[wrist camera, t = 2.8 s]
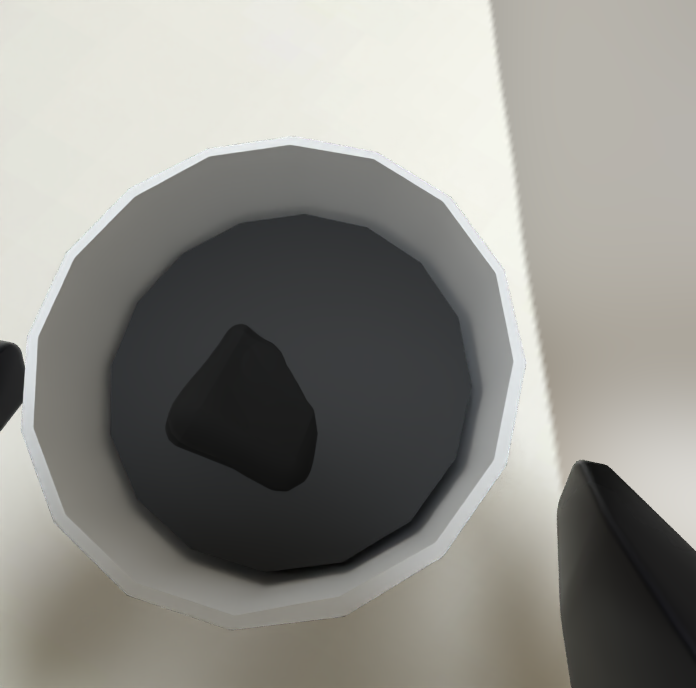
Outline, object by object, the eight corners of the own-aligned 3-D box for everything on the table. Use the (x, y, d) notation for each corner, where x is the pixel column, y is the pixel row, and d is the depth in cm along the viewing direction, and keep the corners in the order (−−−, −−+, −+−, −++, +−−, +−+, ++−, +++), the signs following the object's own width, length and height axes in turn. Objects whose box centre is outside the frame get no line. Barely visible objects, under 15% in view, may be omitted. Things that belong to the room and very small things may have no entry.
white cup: (386, 603, 15) (385, 755, 6) (189, 492, 16) (-84, 464, 7) (479, 394, 17) (601, 237, 7) (292, 308, 18) (187, 79, 9)
